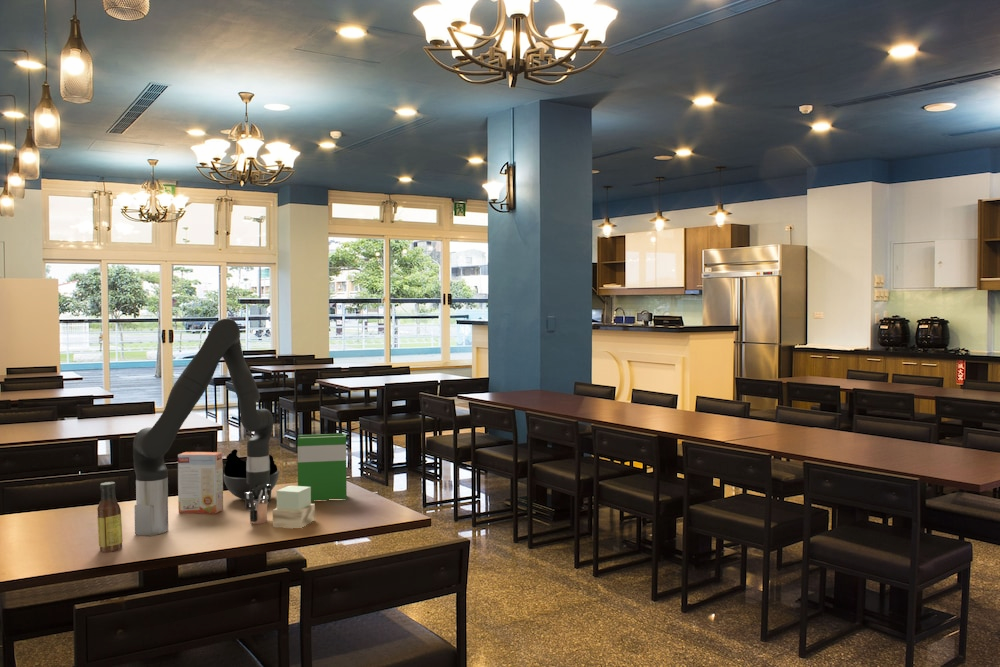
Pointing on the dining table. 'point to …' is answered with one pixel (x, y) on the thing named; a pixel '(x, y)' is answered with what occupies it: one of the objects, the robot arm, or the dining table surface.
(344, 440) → the hardback book
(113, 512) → the sauce bottle
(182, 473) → the cracker box
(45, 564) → the dining table surface
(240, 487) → the bowl of black rocks
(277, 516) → the birch base block
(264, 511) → the coral cylinder
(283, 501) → the sage block
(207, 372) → the robot arm
